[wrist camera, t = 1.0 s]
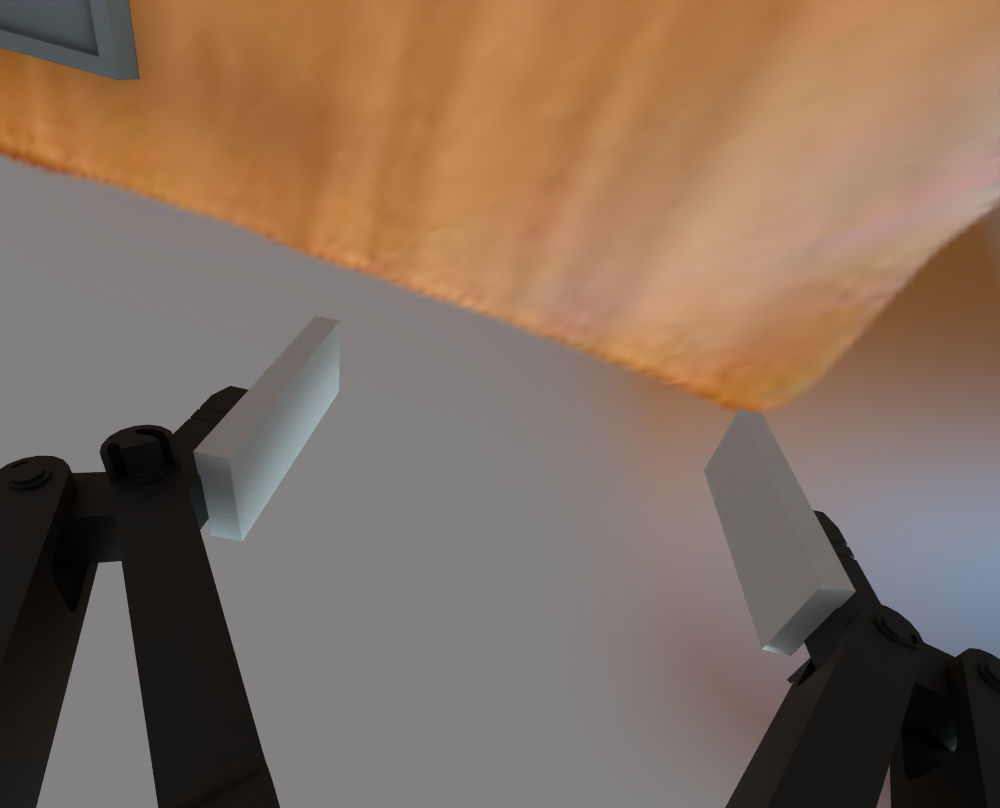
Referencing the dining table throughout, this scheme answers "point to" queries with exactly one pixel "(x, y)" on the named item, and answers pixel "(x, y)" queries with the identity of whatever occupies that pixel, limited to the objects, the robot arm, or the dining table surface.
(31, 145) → the dining table surface
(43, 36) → the tray
